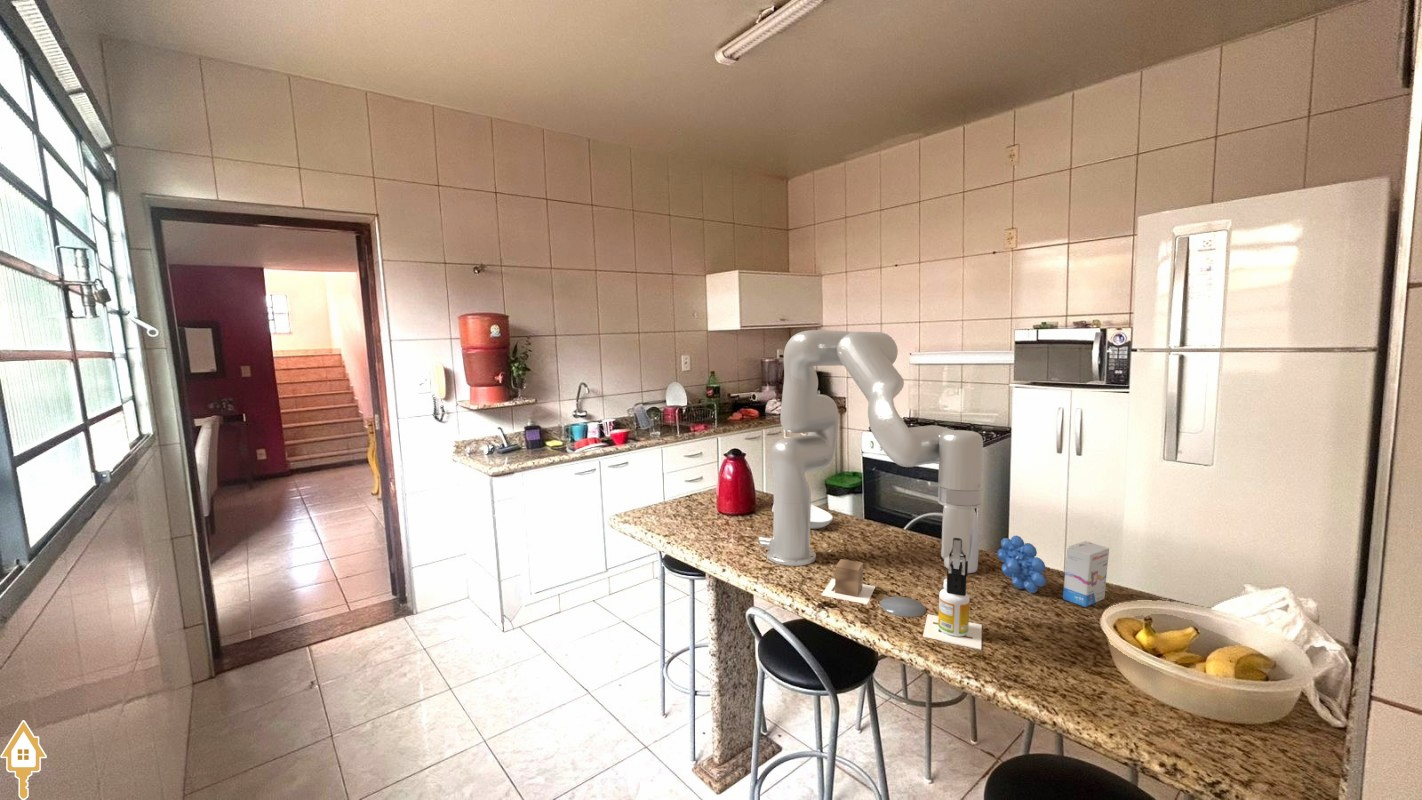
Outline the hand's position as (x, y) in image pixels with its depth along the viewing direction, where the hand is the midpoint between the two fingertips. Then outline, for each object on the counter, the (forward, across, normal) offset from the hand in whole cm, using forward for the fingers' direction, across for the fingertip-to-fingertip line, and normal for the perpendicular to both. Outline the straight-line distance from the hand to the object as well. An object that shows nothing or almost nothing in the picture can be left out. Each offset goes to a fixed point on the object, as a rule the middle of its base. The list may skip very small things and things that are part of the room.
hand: (957, 584), depth 107 cm
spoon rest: (+9, -55, -48) cm, 73 cm away
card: (+10, 0, -1) cm, 10 cm away
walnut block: (+9, -9, -23) cm, 26 cm away
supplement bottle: (+10, 0, -1) cm, 10 cm away
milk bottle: (+10, -35, -1) cm, 37 cm away
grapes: (+10, -27, +11) cm, 31 cm away
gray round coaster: (+9, -6, -11) cm, 16 cm away
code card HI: (+9, -9, -23) cm, 26 cm away
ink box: (+10, -28, +24) cm, 39 cm away
